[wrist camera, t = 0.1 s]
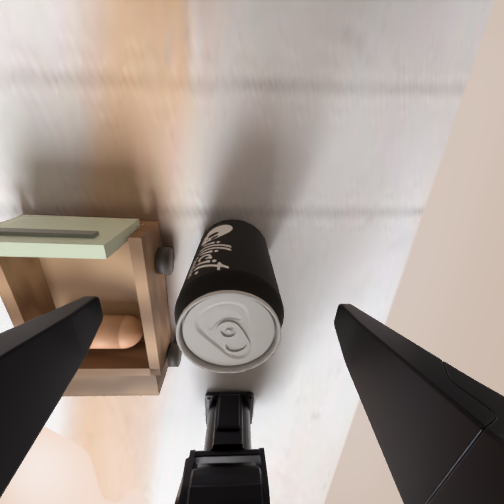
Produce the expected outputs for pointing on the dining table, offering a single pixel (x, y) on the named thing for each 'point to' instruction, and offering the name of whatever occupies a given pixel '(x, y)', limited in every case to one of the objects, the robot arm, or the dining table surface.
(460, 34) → the dining table surface
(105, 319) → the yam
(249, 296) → the beverage can
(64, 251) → the tailgate
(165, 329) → the wooden drawer box
